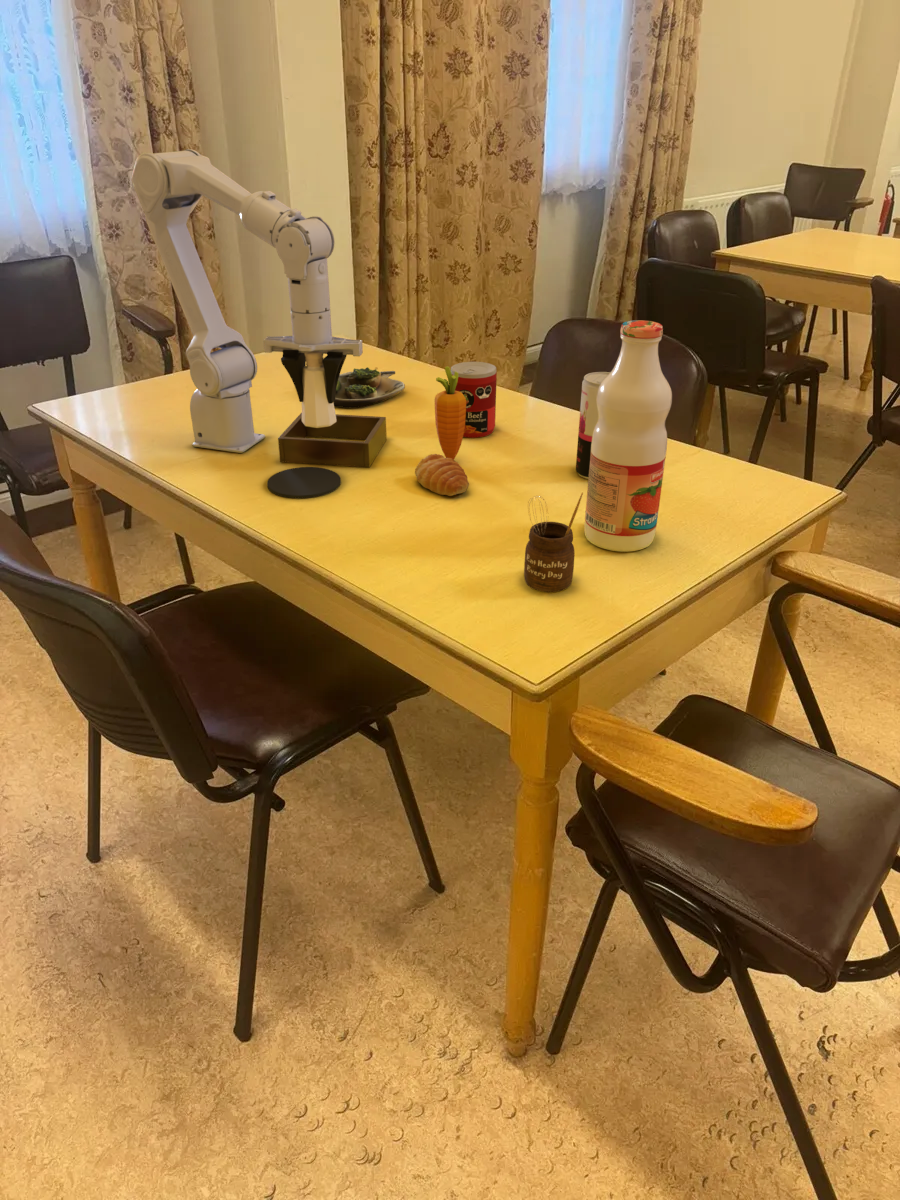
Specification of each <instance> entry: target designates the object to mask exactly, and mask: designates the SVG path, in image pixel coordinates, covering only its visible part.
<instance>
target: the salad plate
mask: <svg viewBox="0 0 900 1200" xmlns="http://www.w3.org/2000/svg"><path fill="white" fill-rule="evenodd" d="M395 374H396V371H395V370H386V371H383V370H382V371H379V370H378V367H374V369H370V367H366V368H353V370H352V371H347V372H343V373H340V375H339V379H338V383H337V388H336V395H335V401H334V407H337V408H343V409H344V408H345V409H356V408H363V407H364V408H365V407H369V406H371V405H375V404H378V403H382V402H385V401H387V400H389V399H390V398H391V399H392V398H393V397H396V396H397V395H399V394H400V393H401V392H403V391H404V390H405V388H406V385H405V383H404V382H403V381H400V380H398V379H393V378H389V377H391V376H394V375H395Z"/></svg>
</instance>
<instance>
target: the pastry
mask: <svg viewBox="0 0 900 1200" xmlns="http://www.w3.org/2000/svg"><path fill="white" fill-rule="evenodd" d="M414 475H415V477H416V480H417V482H418V483H419V484H420V485H421V487H423V488H425V489H428V490H429V491H430V492H432V493H433V492H434V493H435V494H437V495H440V496H441V495H442V496H444V495H445V496H449V497H452V496H456V495H458V494H462V493H465V492H467V490H468V488H469V486H470V482H469V480H468V475H467V474H466V471H465V468H463V467H462V466H461V465H460V464H459V463H458V461H455V459H454V460H453V459H452V458H446V457H445V455H444V454H440V453H439V454H438V453H433V454H428V455H426V456H425V457H424V458H422V459H421V460H420V461H419V462H418V464H417V465H416V467H415V469H414Z"/></svg>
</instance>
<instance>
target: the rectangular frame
mask: <svg viewBox="0 0 900 1200" xmlns="http://www.w3.org/2000/svg"><path fill="white" fill-rule="evenodd" d="M335 414H336V420H337V421H336V423H334V424H332V425H331V426H328V427H320V428H314V427H308V426H305V425H304V424H303V422H302V412H300V413H299V415H297V416H296V418H295V419H294V420H293V421H292V422H291V423H290V424H289V426H287V428H286V429H285V430H284V431H283V432H282V433H281V434H280V435H279V436H278V437H277V444H278V453H279V462H280V463H289V464H290V463H292V464H306V465H307V464H308V465H323V466H340V467H356V468H368V469H370V468H371V466H372V464H373V463H374V461H375V460H376V458H377V456H378V455H379V453H380V451H381V450H382V448H383V447H384V444H385V443H386V441H387V440H388V439H387V417H386V416H373V415H359V414H338V413H335Z"/></svg>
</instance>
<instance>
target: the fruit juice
mask: <svg viewBox="0 0 900 1200" xmlns="http://www.w3.org/2000/svg"><path fill="white" fill-rule="evenodd" d="M663 330H664V328H663V324H661V323H659V322H656V321H652V320H639V319H638V320H628V321H624V322H623V323H621V325H620V332H619V333H620V339H621V347H620V352H619V354H618V357H617V360H616V362H615V364H614V366H613V368H612V369H611V371H609V372H610V373H609V374H608V375H607V376H606V378H605V379H604V380H603V381H602V383H601V384H600V386H599V389H598V393H597V408H598V413H599V420H598V422H597V424H596V426H595V428H594V432H593V437H592V444H591V456H590V468H589V479H587V489H586V490H587V492H586V502H585V515H584V525H583V527H584V535H585V538H586V540H587V541H588V542H589V543H591V544H592V545H594V546H596V547H598V548H601V549H604V550H608V551H613V552H622V553H623V552H624V553H625V552H627V553H628V552H635V551H640V550H643V549H645V548H648V547H649V546H650V545H651V544H652V543H653V542H654V539H655V536H656V533H657V524H658V517H659V511H660V503H661V494H662V487H663V480H664V470H665V465H666V458H667V453H668V452H667V450H668V431H667V428H666V420H667V417H668V416H669V413H670V410H671V408H672V404H673V391H672V388H671V386H670V384H669V381H668V380H667V378H666V377H665V375H664V374H663V371H662V368H661V363H660V358H659V343H660V342H661V341H662V337H663V336H664V335H663V334H664V331H663Z"/></svg>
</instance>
